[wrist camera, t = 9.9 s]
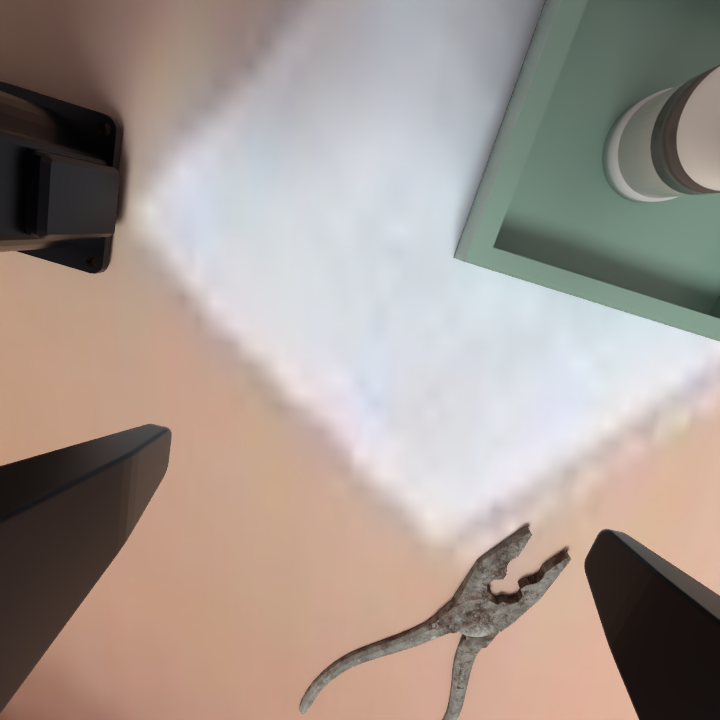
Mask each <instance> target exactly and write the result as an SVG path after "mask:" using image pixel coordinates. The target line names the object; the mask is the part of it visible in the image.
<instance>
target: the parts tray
mask: <svg viewBox="0 0 720 720" xmlns="http://www.w3.org/2000/svg"><path fill="white" fill-rule="evenodd" d="M718 65H720V0H546V1H545V4H544V7H543V10H542V13H541V15H540V18H539V21H538V24H537V26H536V29H535V32H534V35H533V38H532V40H531V43H530V46H529V49H528V52H527V54H526V57H525V60H524V63H523V66H522V68H521V71H520V74H519V77H518V80H517V82H516V85H515V88H514V91H513V94H512V96H511V99H510V102H509V105H508V107H507V110H506V113H505V116H504V119H503V121H502V124H501V127H500V130H499V133H498V135H497V138H496V141H495V144H494V147H493V149H492V152H491V155H490V158H489V161H488V163H487V166H486V169H485V172H484V175H483V177H482V180H481V183H480V186H479V188H478V191H477V194H476V197H475V200H474V202H473V205H472V208H471V211H470V214H469V216H468V219H467V222H466V225H465V228H464V230H463V233H462V236H461V239H460V242H459V244H458V247H457V250H456V253H455V255H454V258H457V259H459V260H462V261H464V262H467V263H470V264H474V265H477V266H480V267H483V268H487V269H490V270H493V271H496V272H499V273H503V274H506V275H509V276H512V277H515V278H519V279H522V280H525V281H528V282H531V283H535V284H538V285H541V286H544V287H547V288H551V289H554V290H557V291H560V292H563V293H567V294H570V295H573V296H576V297H579V298H583V299H586V300H589V301H592V302H595V303H599V304H602V305H605V306H608V307H611V308H615V309H618V310H621V311H624V312H627V313H631V314H634V315H637V316H640V317H643V318H647V319H650V320H653V321H656V322H659V323H663V324H666V325H669V326H672V327H675V328H679V329H682V330H685V331H688V332H691V333H695V334H698V335H701V336H704V337H707V338H711V339H714V340H717V341H720V193H715V194H705V195H687V196H679V197H676V198H674V199H670V200H665V201H657V202H645V203H640V202H633V201H630V200H627V199H625V198H623V197H621V196H620V195H618V194H617V193H616V192H615V191H614V190H613V189H612V188H611V187H610V185H609V183H608V182H607V180H606V177H605V174H604V170H603V163H602V156H603V148H604V144H605V141H606V138H607V136H608V133H609V131H610V130H611V128H612V126H613V125H614V123H615V122H616V120H617V119H618V118H619V117H620V115H621V114H622V113H624V112H625V111H626V110H627V109H628V108H629V107H631V106H632V105H633V104H635V103H637V102H638V101H640V100H642V99H644V98H646V97H649V96H651V95H653V94H655V93H657V92H659V91H662V90H665V89H668V88H674V87H676V86H678V85H680V84H682V83H685V82H687V81H688V80H690V79H692V78H693V77H695V76H697V75H699V74H701V73H703V72H705V71H707V70H709V69H712V68H714V67H716V66H718Z"/></svg>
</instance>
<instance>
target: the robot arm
mask: <svg viewBox="0 0 720 720" xmlns="http://www.w3.org/2000/svg"><path fill="white" fill-rule="evenodd" d="M107 123H108V124H109V126H110V132H109V134H107V135H106V134H105V132H104V127H105V125H106V124H107ZM121 140H122V128H121V126H120V124H119V122H118V121H117V120H116V119H114V118H112V117H110V116H108V115H105V114H102V113H99V112H96V111H93V110H90V109H86V108H83V107H80V106H77V105H74V104H71V103H67V102H64V101H61V100H58V99H55V98H52V97H48V96H45V95H42V94H39V93H36V92H33V91H30V90H26V89H23V88H20V87H17V86H14V85H11V84H7V83H4V82H1V81H0V252H5V251H18V252H21V253H24V254H28V255H31V256H34V257H38V258H41V259H45V260H48V261H51V262H55V263H58V264H61V265H65V266H68V267H71V268H75V269H78V270H82V271H85V272H88V273H94V274H95V273H101V272H104V271H105V270H106V269H107V267H108V262H109V252H110V243H111V235H112V234H113V233H114V231H115V222H116V213H117V203H118V194H119V185H120V175H119V173H118V168H119V158H120V149H121ZM92 257H94V258H95V259H96V260H97V266H94V265H93V263H92ZM171 436H172V435H171V430H170V429H169V428H167V427H163V426H158V425H154V424H147V425H143V426H140V427H136V428H133V429H129V430H126V431H122V432H119V433H115V434H112V435H108V436H105V437H101V438H98V439H94V440H91V441H87V442H84V443H80V444H77V445H73V446H69V447H66V448H62V449H59V450H55V451H52V452H48V453H45V454H41V455H38V456H34V457H31V458H27V459H24V460H20V461H17V462H13V463H10V464H6V465H3V466H0V713H1V712H2V710H3V709H4V708H5V706H6V705H7V704H8V702H9V701H10V700H11V698H12V697H13V696H14V694H15V693H16V691H17V690H18V689H19V687H20V686H21V685H22V683H23V682H24V681H25V679H26V678H27V676H28V675H29V674H30V672H31V671H32V670H33V668H34V667H35V666H36V664H37V663H38V662H39V660H40V659H41V657H42V656H43V655H44V653H45V652H46V651H47V649H48V648H49V647H50V645H51V644H52V642H53V641H54V640H55V638H56V637H57V636H58V634H59V633H60V632H61V630H62V629H63V628H64V626H65V625H66V623H67V622H68V621H69V619H70V618H71V617H72V615H73V614H74V613H75V611H76V610H77V608H78V607H79V606H80V604H81V603H82V602H83V600H84V599H85V598H86V596H87V595H88V593H89V592H90V591H91V589H92V588H93V587H94V585H95V584H96V583H97V581H98V580H99V579H100V577H101V576H102V574H103V573H104V572H105V570H106V569H107V568H108V566H109V565H110V564H111V562H112V561H113V559H114V558H115V557H116V555H117V554H118V553H119V551H120V550H121V548H122V547H123V545H124V544H125V542H126V541H127V539H128V537H129V536H130V534H131V533H132V531H133V529H134V527H135V526H136V524H137V522H138V521H139V519H140V517H141V515H142V514H143V512H144V510H145V508H146V507H147V505H148V503H149V502H150V500H151V498H152V496H153V495H154V493H155V491H156V489H157V488H158V486H159V484H160V483H161V481H162V479H163V477H164V475H165V473H166V471H167V467H168V462H169V453H170V445H171ZM584 567H585V573H586V576H587V579H588V582H589V585H590V589H591V592H592V595H593V598H594V601H595V604H596V607H597V611H598V614H599V617H600V620H601V623H602V626H603V629H604V633H605V636H606V639H607V642H608V644H609V647H610V650H611V653H612V655H613V658H614V660H615V663H616V665H617V668H618V670H619V672H620V675H621V677H622V680H623V682H624V685H625V687H626V689H627V692H628V694H629V697H630V699H631V701H632V704H633V706H634V709H635V711H636V713H637V716H638V718H639V720H720V596H719V595H718V594H716V593H715V592H713V591H712V590H710V589H709V588H707V587H706V586H704V585H703V584H701V583H700V582H698V581H697V580H695V579H694V578H692V577H691V576H689V575H688V574H686V573H685V572H683V571H682V570H680V569H679V568H677V567H675V566H674V565H672V564H671V563H669V562H668V561H666V560H665V559H663V558H662V557H660V556H659V555H657V554H656V553H654V552H653V551H651V550H650V549H648V548H647V547H645V546H644V545H642V544H641V543H639V542H638V541H636V540H635V539H633V538H632V537H630V536H629V535H627V534H625V533H623V532H619V531H614V530H610V529H604V530H602V531H600V532H599V534H598V536H597V537H596V539H595V541H594V543H593V545H592V547H591V549H590V551H589V553H588V555H587V557H586V559H585V566H584Z"/></svg>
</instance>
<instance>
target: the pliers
mask: <svg viewBox="0 0 720 720" xmlns="http://www.w3.org/2000/svg"><path fill="white" fill-rule="evenodd" d="M531 536H532V534H531V532H530V530H529V528H527V527H523V528H522V529H520V530H519V531H518V532H516V533H515V534H513V535H512V536H510V537H509V538H508V539H506V540H505V541H503V542H502V543H500V544H499V545H498V546H496V547H495V548H493V549H492V550H490V551H489V552H488V553H486V554H485V555H483V556H482V557H480V558H479V559H478V560H477V561H476V563H475V564H474V566H473V567H472V569H471V570H470V572H469V573H468V575H467V577H466V578H465V580H464V581H463V583H462V584H461V586H460V587H459V589H458V590H457V592H456V594H455V595H454V597H453V598H452V600H451V601H450V602H449V603H448V604H447V605H445V606H444V607H443V608H442V609H441V610H440V611H438V612H437V613H436V614H435V615H434V616H433V617H431V618H430V619H429V620H427V621H426V622H424V623H423V624H421V625H419V626H417V627H415V628H413V629H410V630H408V631H406V632H403V633H401V634H398V635H396V636H393V637H390V638H387V639H385V640H382V641H379V642H377V643H374V644H371V645H369V646H366V647H363V648H361V649H358V650H356V651H354V652H352V653H350V654H347V655H346V656H344V657H342V658H341V659H339V660H338V661H336V662H334V663H333V664H332V665H331V666H329V667H328V668H327V669H326V670H325V671H323V672H322V673H321V675H320V676H319V677H318V678H317V679H316V680H315V681H314V682H313V683H312V685H311V686H310V687H309V688H308V690H307V691H306V693H305V695H304V697H303V699H302V701H301V704H300V708H299V710H300V712H301V714H304V713H306V712H307V711H308V709H309V707H310V706H311V704H312V702H313V701H314V699H315V697H316V696H317V695H318V694H319V692H320V691H321V690H322V689H323V688H324V687H325V686H326V685H327V684H328V683H329V682H330V681H331V680H333V679H334V678H335V677H337V676H338V675H339V674H341V673H342V672H344V671H346V670H348V669H350V668H352V667H354V666H356V665H359V664H361V663H364V662H367V661H370V660H373V659H376V658H380V657H383V656H386V655H390V654H393V653H396V652H399V651H402V650H406V649H409V648H412V647H415V646H418V645H421V644H424V643H426V642H428V641H431V640H433V639H435V638H438V637H440V636H443V635H445V634H448V633H456V632H460V633H462V634H463V635H462V637H461V640H460V642H459V645H458V648H457V651H456V654H455V657H454V663H453V669H452V682H451V691H450V697H449V703H448V708H447V711H446V713H445V715H444V718H443V720H457V718H458V717H459V714H460V712H461V709H462V706H463V702H464V697H465V693H466V689H467V684H468V680H469V675H470V672H471V668H472V665H473V662H474V660H475V657H476V655H477V653H478V652H479V651H480V650H481V648H486V647H487V646H488V645H489V643H490V642H491V641H492V640H493V639H494V637H495V636H496V635H497V634H498V633H499V631H500V632H501V631H502V630H504V629H505V628H507V627H508V626H509V625H511V624H512V623H514V622H515V621H516V620H517V619H518V618H519V617H520V616H521V615H523V614H524V613H525V612H526V611H527V610H528V609H529V608H530V607H531V606H533V605H534V604H535V603H536V602H537V601H538V600H539V599H540V598H541V597H542V596H543V595H544V593H545V592H546V591H547V589H548V588H549V587H550V586H551V584H552V583H553V582H554V581H555V579H556V578H557V577H558V575H559V574H560V573H561V572H562V570H563V569H564V568H565V567H566V565H567V564H568V563H569V561H570V560H571V558H570V557H569V555H568V553H567V552H566V551H565V550H563V551H562V552H560V553H559V554H557V555H556V556H554V557H553V558H552V559H550V560H549V561H547V562H546V563H544V564H543V565H542V567H541V569H540V570H539V572H538V573H536V575H534V576H532V577H531V576H530V577H528V578H527V577H526V578H523V579H521V580H520V581H518V584H519V587H520V589H519V591H518V592H517V593H516V595H512V596H508V597H507V596H504V595H498V596H497V597H493V596H492V594H491V590H490V588H489V587H488V586H487V584H489V583H490V582H491V581H493V580H494V579H504V577H505V576H506V572H507V569H506V568H507V565H508V563H509V562H510V560H512V559H514V558H516V557H517V556H519V554H520V553H521V551H522V550H523V548H524V546H525V545H526V543H527V542H528V540H529V539H530V537H531Z"/></svg>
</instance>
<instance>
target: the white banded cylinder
mask: <svg viewBox="0 0 720 720" xmlns="http://www.w3.org/2000/svg"><path fill="white" fill-rule="evenodd" d="M602 163H603V170H604V174H605V177H606V180H607V182H608V183H609V185H610V187H611V188H612V189H613V190H614V191H615V192H616V193H617V194H618V195H620V196H621V197H623V198H625V199H627V200H630V201H633V202H640V203H645V202H657V201H665V200H670V199H674V198H676V197H679V196H687V195H705V194H715V193H720V65H718V66H716V67H714V68H712V69H709V70H707V71H705V72H703V73H701V74H699V75H697V76H695V77H693V78H692V79H690V80H688V81H687V82H685V83H682V84H680V85H678V86H676V87H674V88H668V89H665V90H662V91H659V92H657V93H655V94H653V95H651V96H649V97H646V98H644V99H642V100H640V101H638V102H637V103H635V104H633V105H632V106H631V107H629V108H628V109H627V110H626V111H625V112H624V113H622V114H621V115H620V117H619V118H618V119H617V120H616V122H615V123H614V125H613V126H612V128H611V130H610V131H609V133H608V136H607V138H606V141H605V144H604V148H603V156H602Z"/></svg>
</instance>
